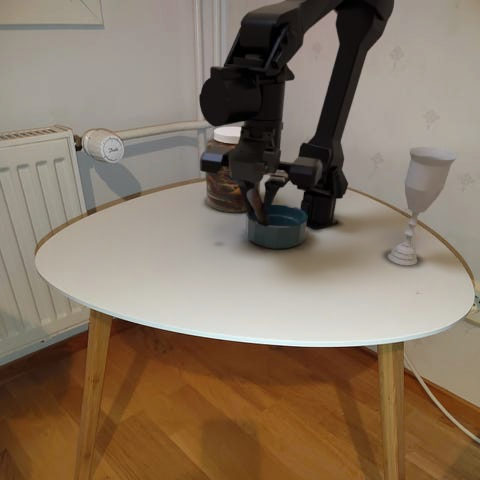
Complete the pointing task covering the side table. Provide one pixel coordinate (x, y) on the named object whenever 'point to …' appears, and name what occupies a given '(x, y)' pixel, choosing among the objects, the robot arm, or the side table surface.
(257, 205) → the stick
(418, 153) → the chalice
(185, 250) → the side table surface
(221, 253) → the side table surface
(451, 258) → the side table surface
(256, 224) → the bowl
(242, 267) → the side table surface
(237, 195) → the jar
